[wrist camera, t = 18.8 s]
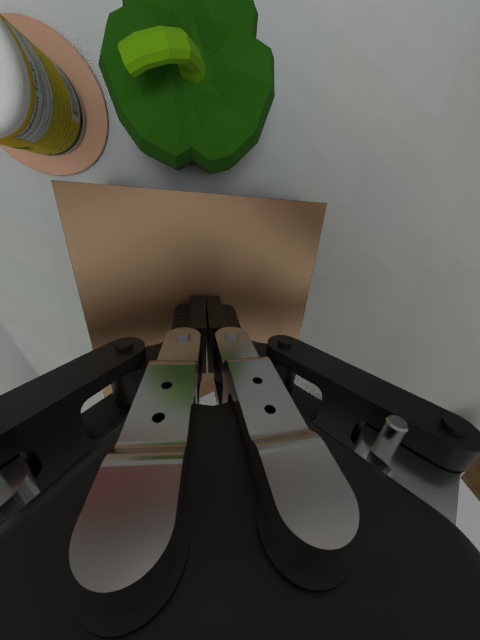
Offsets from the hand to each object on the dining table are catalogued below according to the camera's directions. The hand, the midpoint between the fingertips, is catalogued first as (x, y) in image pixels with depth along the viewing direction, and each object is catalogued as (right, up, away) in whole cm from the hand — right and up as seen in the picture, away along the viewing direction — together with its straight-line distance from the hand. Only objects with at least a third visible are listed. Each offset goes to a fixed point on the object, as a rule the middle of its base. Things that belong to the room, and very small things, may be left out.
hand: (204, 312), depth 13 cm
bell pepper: (-1, +15, +5) cm, 16 cm away
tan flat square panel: (+1, +1, +2) cm, 2 cm away
